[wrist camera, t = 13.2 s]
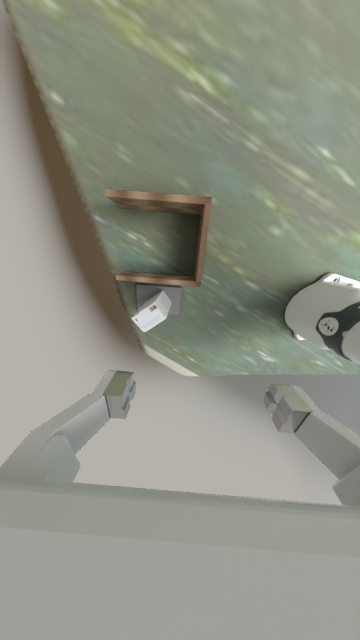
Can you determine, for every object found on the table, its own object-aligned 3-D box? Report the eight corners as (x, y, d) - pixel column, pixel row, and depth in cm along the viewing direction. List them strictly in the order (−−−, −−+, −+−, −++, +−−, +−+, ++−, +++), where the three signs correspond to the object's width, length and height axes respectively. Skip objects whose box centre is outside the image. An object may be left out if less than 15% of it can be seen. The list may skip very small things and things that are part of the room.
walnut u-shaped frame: (206, 209, 30) (211, 197, 23) (197, 281, 36) (200, 286, 30) (122, 202, 30) (105, 188, 24) (128, 275, 36) (116, 280, 30)
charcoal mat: (181, 287, 37) (181, 287, 37) (179, 315, 41) (179, 315, 40) (136, 283, 37) (135, 284, 37) (138, 311, 41) (137, 312, 40)
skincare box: (155, 312, 40) (144, 335, 29) (145, 300, 38) (129, 319, 28) (172, 301, 38) (167, 320, 27) (162, 287, 37) (153, 302, 26)
